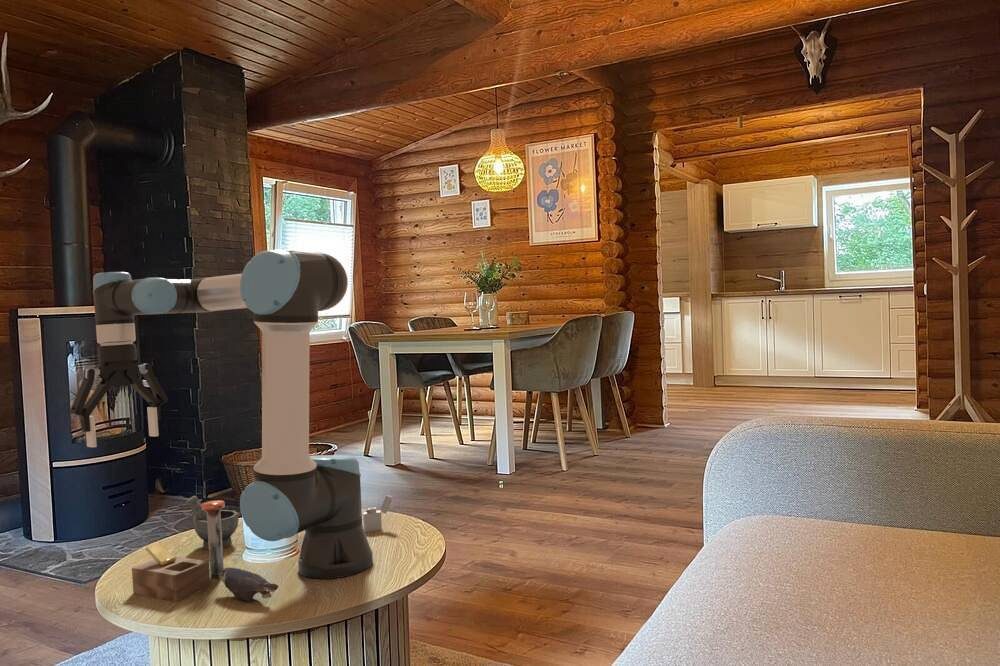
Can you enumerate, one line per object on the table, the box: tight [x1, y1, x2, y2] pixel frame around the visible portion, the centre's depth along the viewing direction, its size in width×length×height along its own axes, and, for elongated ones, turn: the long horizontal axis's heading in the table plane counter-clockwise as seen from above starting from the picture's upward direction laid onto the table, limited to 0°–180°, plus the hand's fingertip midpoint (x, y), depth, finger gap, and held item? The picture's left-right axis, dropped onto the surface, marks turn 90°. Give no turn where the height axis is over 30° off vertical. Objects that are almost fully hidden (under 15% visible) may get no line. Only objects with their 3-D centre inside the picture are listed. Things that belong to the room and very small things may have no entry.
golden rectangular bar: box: [145, 541, 176, 567], centre depth 150 cm, size 5×3×1 cm
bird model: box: [218, 566, 279, 602], centre depth 143 cm, size 4×17×5 cm, turn 56°
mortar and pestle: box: [185, 495, 239, 550], centre depth 177 cm, size 11×9×12 cm
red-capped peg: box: [201, 500, 226, 579], centre depth 155 cm, size 4×4×15 cm
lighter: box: [362, 494, 394, 533], centre depth 184 cm, size 7×2×8 cm, turn 107°
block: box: [131, 555, 211, 602], centre depth 149 cm, size 12×8×5 cm, turn 64°
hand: (123, 441), depth 166 cm, fingers open, 13 cm apart
